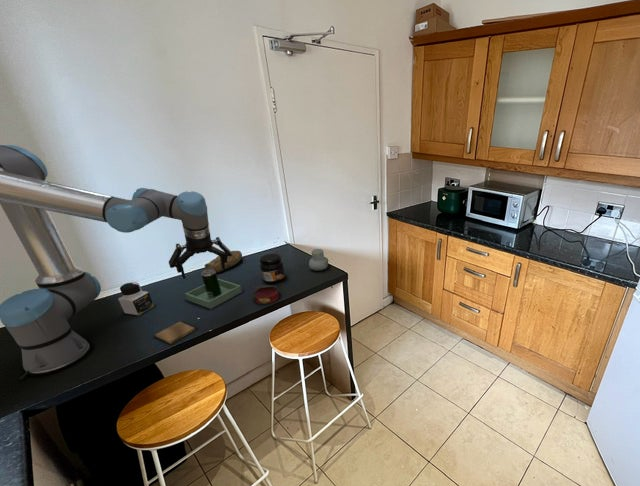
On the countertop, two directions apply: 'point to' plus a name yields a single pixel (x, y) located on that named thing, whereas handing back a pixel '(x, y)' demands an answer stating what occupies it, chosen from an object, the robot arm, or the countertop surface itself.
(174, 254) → the robot arm
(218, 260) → the brown oval lump
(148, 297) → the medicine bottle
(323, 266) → the air freshener
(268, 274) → the supplement container
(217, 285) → the beer can
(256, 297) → the canned food
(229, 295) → the bin
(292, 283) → the countertop surface
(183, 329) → the coaster
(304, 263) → the countertop surface
